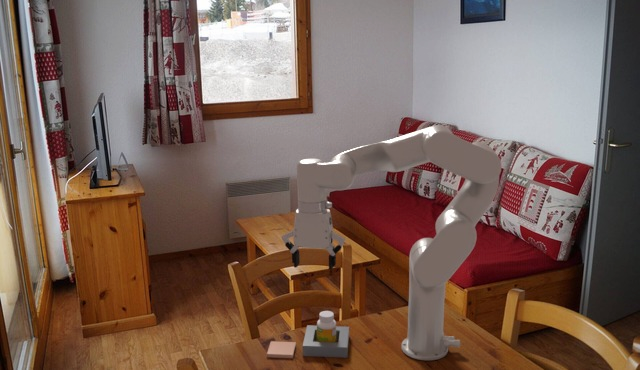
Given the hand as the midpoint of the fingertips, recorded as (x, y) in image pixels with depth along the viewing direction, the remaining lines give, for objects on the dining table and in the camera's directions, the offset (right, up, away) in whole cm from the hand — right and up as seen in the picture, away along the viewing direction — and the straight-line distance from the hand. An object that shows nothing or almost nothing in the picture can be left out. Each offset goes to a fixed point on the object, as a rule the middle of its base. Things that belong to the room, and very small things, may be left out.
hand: (314, 266), depth 174 cm
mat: (-9, -23, +3) cm, 25 cm away
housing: (+3, -23, +6) cm, 24 cm away
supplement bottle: (+3, -23, +6) cm, 24 cm away
